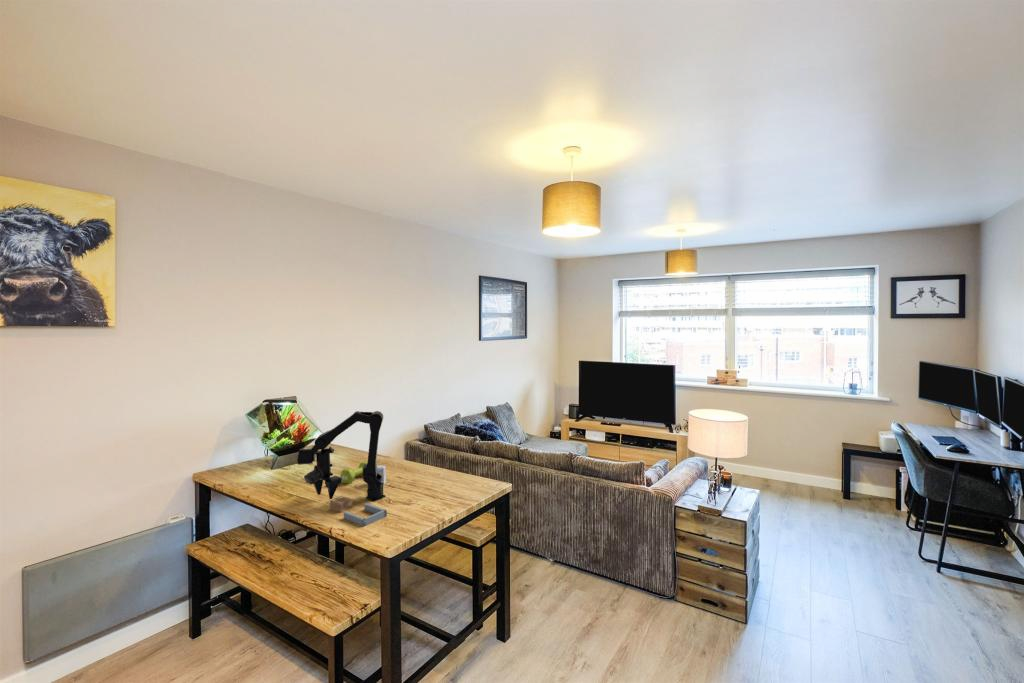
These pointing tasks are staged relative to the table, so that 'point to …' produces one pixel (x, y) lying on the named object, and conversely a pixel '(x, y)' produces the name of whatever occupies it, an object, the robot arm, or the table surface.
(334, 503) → the block
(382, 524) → the table surface
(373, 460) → the robot arm
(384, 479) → the medicine box
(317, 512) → the table surface
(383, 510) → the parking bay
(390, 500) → the table surface
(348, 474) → the dumbbell
